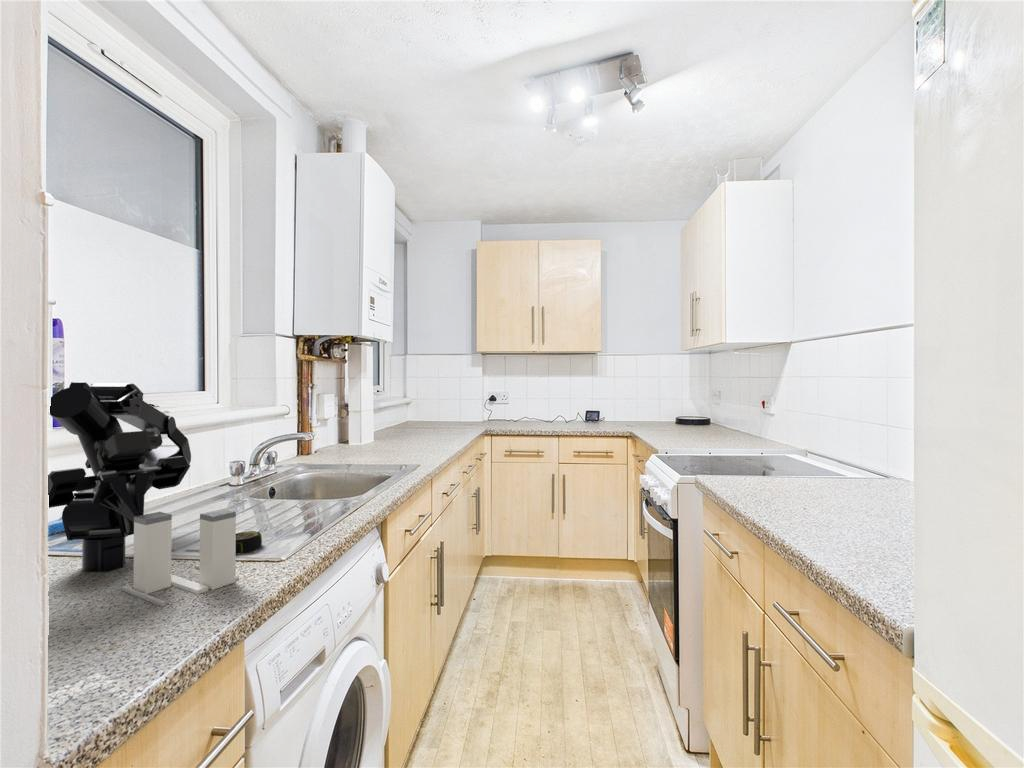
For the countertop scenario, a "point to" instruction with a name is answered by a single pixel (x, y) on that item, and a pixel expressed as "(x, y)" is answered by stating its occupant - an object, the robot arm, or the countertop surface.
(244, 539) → the tape measure
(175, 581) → the switch board
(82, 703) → the countertop surface
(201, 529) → the tab
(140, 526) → the tab
